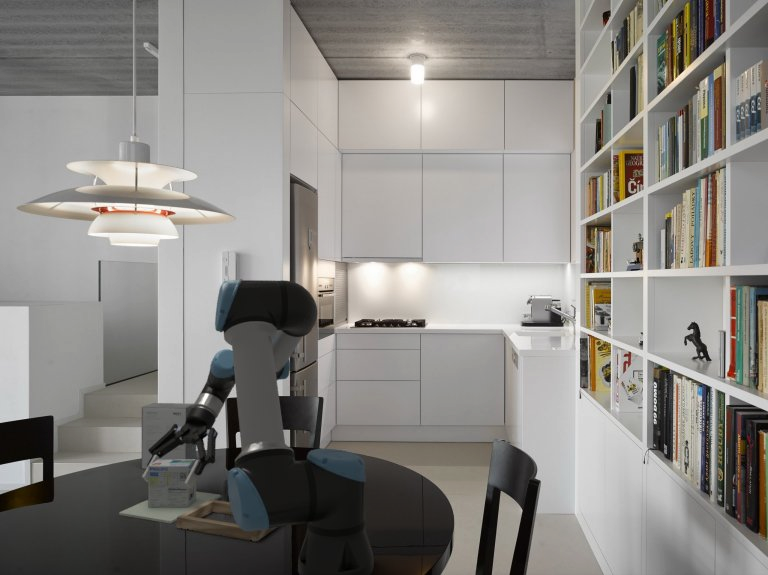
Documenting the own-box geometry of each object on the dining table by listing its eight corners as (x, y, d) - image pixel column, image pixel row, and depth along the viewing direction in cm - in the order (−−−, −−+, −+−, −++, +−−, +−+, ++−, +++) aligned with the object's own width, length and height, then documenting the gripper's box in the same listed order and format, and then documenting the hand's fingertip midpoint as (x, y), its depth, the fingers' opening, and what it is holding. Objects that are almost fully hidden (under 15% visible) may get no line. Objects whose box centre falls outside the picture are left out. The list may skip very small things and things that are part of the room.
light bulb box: (196, 498, 155) (197, 458, 155) (189, 507, 148) (189, 465, 149) (156, 498, 155) (157, 458, 155) (146, 507, 148) (147, 465, 148)
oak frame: (256, 541, 129) (257, 530, 129) (176, 527, 137) (176, 517, 137) (286, 520, 142) (286, 510, 142) (211, 509, 149) (211, 499, 149)
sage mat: (170, 523, 139) (170, 521, 139) (118, 514, 145) (118, 512, 145) (221, 497, 158) (221, 494, 158) (173, 490, 164) (173, 488, 164)
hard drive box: (197, 464, 189) (198, 403, 189) (185, 471, 181) (186, 407, 182) (153, 462, 191) (153, 402, 192) (140, 469, 184) (140, 406, 184)
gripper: (247, 424, 162) (213, 495, 148) (174, 417, 171) (135, 484, 156) (236, 408, 157) (200, 480, 143) (162, 402, 166) (121, 469, 151)
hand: (166, 482), depth 149 cm, fingers open, 13 cm apart
